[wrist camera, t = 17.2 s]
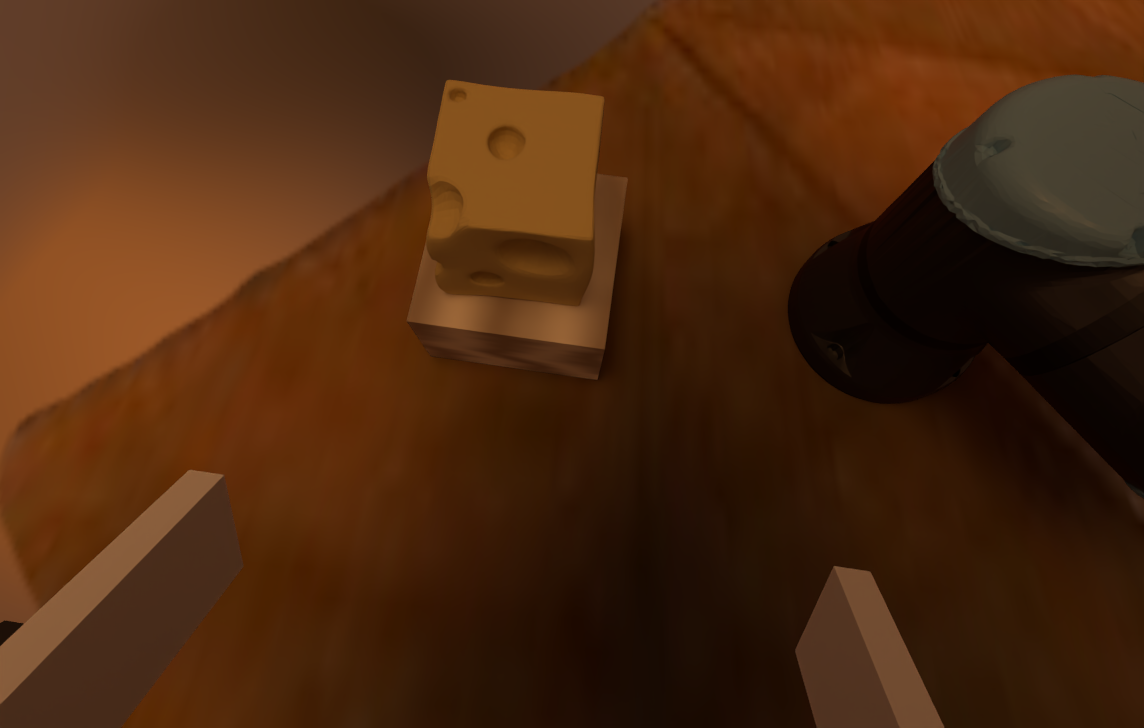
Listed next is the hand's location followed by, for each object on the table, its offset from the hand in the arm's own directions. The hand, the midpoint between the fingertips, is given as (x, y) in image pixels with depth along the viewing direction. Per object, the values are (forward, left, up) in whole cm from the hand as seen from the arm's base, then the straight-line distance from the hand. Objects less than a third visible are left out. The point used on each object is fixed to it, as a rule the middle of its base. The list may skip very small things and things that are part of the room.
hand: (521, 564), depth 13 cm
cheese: (+5, -21, -25) cm, 33 cm away
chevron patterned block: (+5, -21, -33) cm, 39 cm away
